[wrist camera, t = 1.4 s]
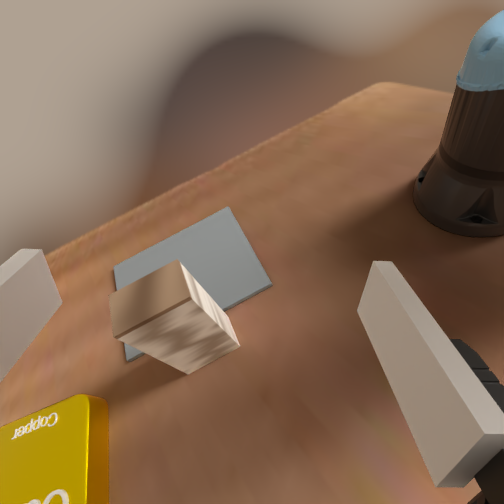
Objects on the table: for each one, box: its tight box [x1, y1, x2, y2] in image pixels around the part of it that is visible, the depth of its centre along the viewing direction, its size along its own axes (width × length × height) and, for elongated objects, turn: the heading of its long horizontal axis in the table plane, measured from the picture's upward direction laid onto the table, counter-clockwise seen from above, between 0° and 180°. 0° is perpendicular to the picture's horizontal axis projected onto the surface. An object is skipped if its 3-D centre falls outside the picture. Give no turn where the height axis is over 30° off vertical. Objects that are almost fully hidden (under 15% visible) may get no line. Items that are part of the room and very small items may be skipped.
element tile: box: [0, 394, 109, 504], centre depth 36 cm, size 15×15×5 cm
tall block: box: [109, 259, 240, 374], centre depth 35 cm, size 8×5×16 cm, turn 114°
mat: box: [114, 207, 273, 362], centre depth 49 cm, size 24×19×1 cm
